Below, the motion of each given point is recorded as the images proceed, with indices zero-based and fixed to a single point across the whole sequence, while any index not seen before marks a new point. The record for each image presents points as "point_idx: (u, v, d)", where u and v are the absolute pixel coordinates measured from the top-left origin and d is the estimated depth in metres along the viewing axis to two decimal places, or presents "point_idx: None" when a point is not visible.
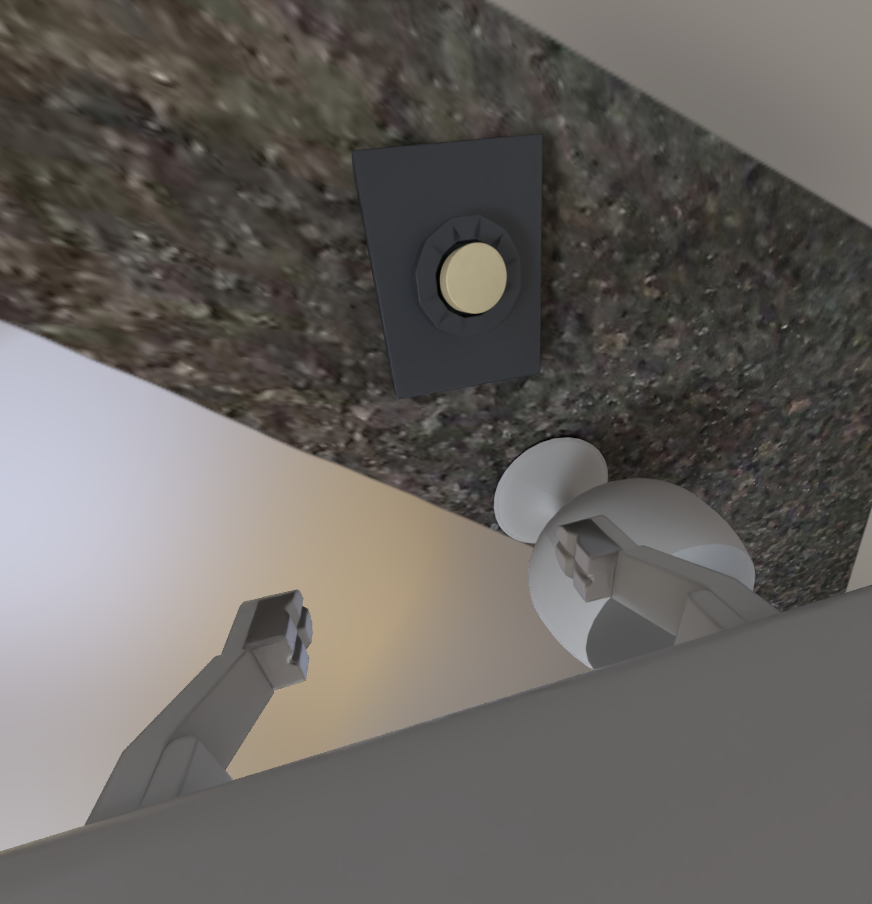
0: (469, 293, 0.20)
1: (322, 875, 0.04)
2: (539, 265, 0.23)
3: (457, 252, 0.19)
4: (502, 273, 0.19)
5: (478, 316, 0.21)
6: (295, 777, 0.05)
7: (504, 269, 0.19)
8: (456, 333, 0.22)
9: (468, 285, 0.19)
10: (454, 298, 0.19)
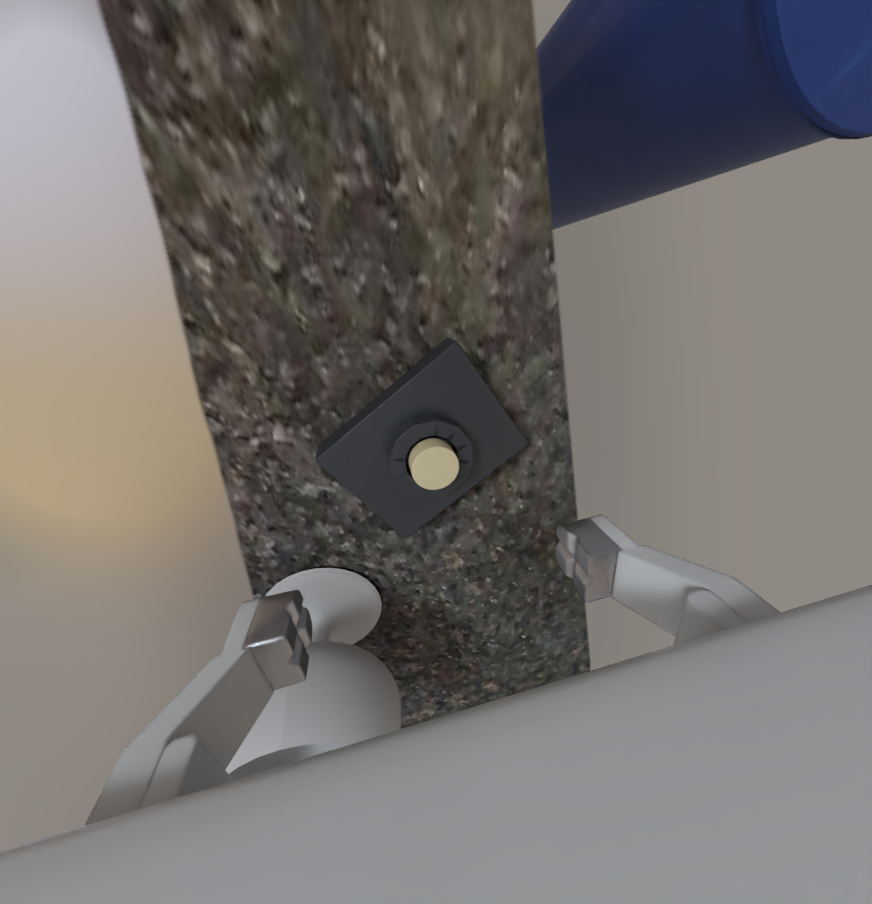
0: (424, 470, 0.25)
1: (322, 875, 0.04)
2: (467, 490, 0.30)
3: (442, 447, 0.25)
4: (449, 481, 0.26)
5: None
6: (295, 777, 0.05)
7: (451, 480, 0.26)
8: (393, 474, 0.26)
9: (428, 466, 0.25)
10: (415, 463, 0.25)
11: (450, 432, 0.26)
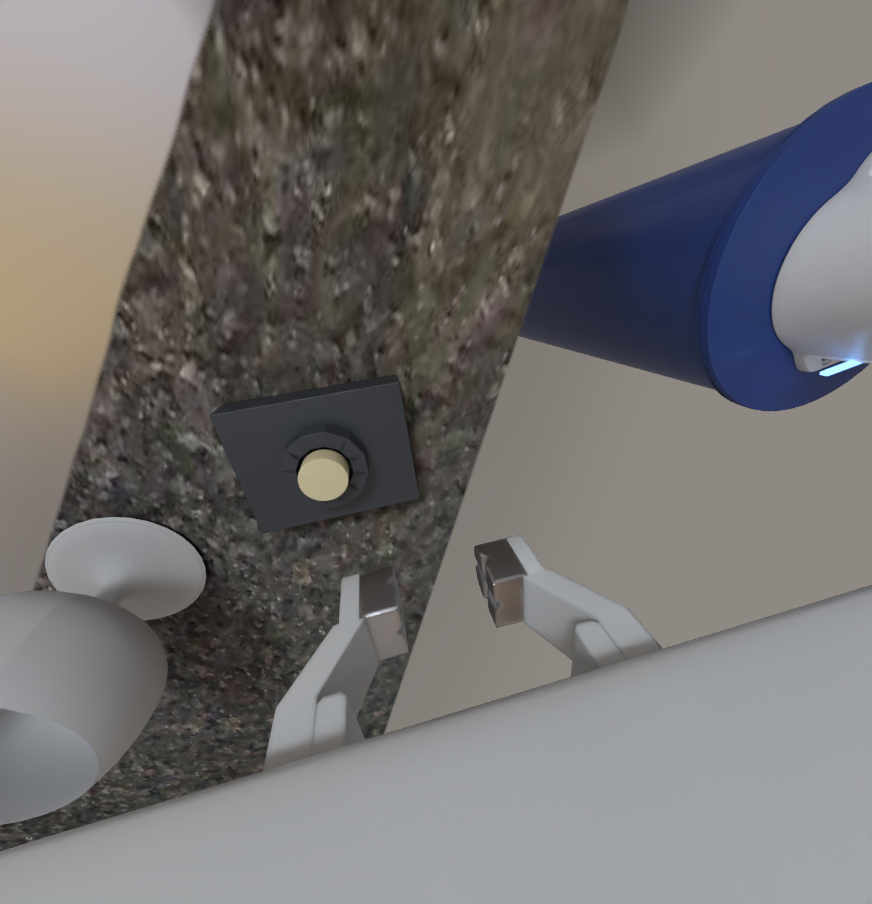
0: (312, 476, 0.25)
1: (322, 875, 0.04)
2: (346, 513, 0.30)
3: (339, 464, 0.25)
4: (330, 497, 0.26)
5: None
6: (295, 777, 0.05)
7: (333, 498, 0.26)
8: (281, 467, 0.26)
9: (317, 475, 0.25)
10: (306, 466, 0.25)
11: (354, 455, 0.26)
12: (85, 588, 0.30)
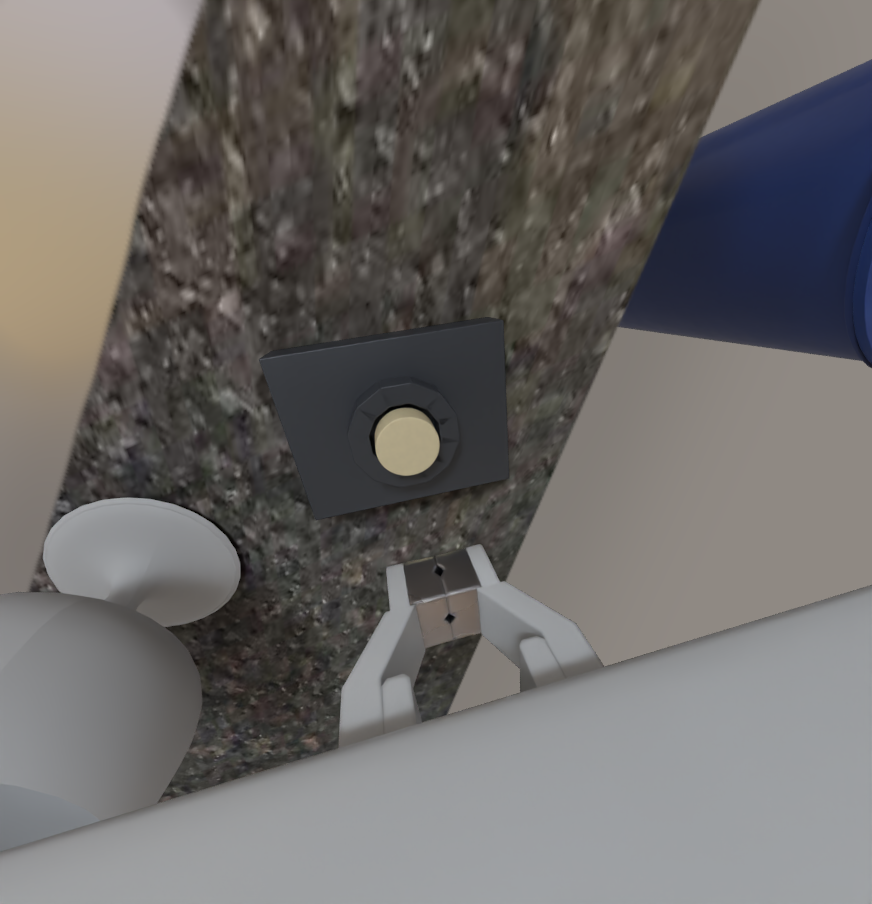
0: (394, 441, 0.19)
1: (322, 875, 0.04)
2: (419, 496, 0.24)
3: (431, 426, 0.19)
4: (414, 470, 0.20)
5: (371, 450, 0.20)
6: (295, 777, 0.05)
7: (418, 472, 0.20)
8: (351, 429, 0.19)
9: (402, 439, 0.19)
10: (389, 427, 0.18)
11: (445, 415, 0.20)
12: (93, 587, 0.24)
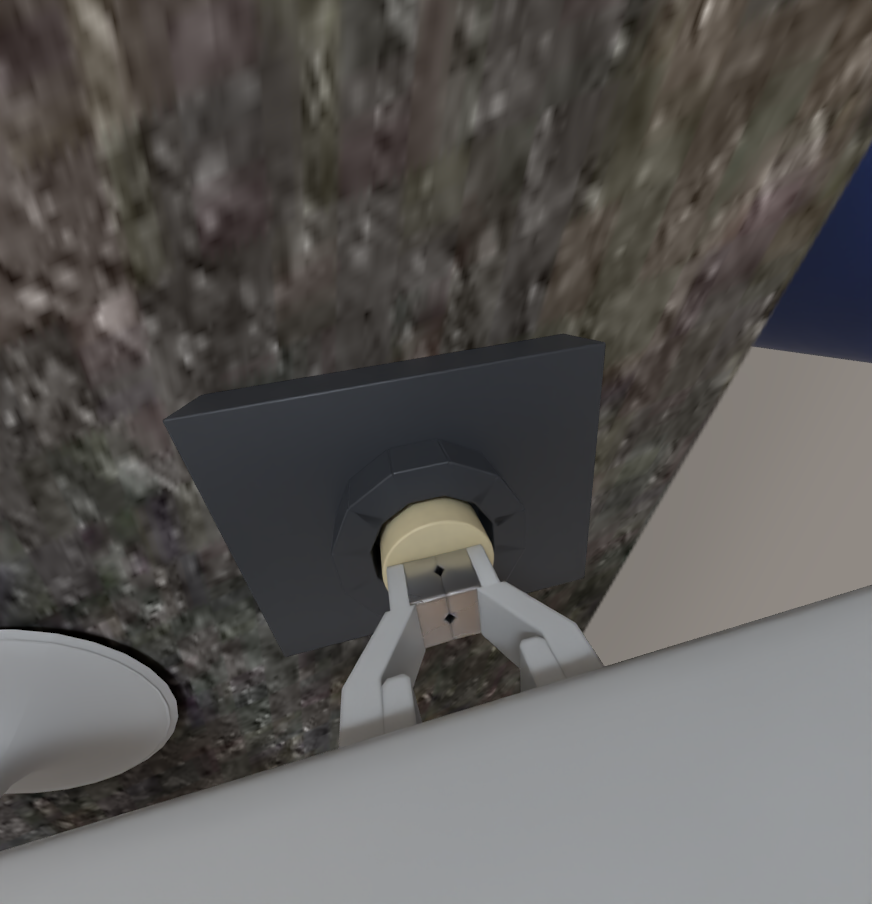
0: None
1: (322, 875, 0.04)
2: None
3: (481, 533, 0.10)
4: None
5: (375, 573, 0.11)
6: (295, 777, 0.05)
7: None
8: (339, 544, 0.11)
9: None
10: (407, 540, 0.10)
11: (504, 511, 0.11)
12: None
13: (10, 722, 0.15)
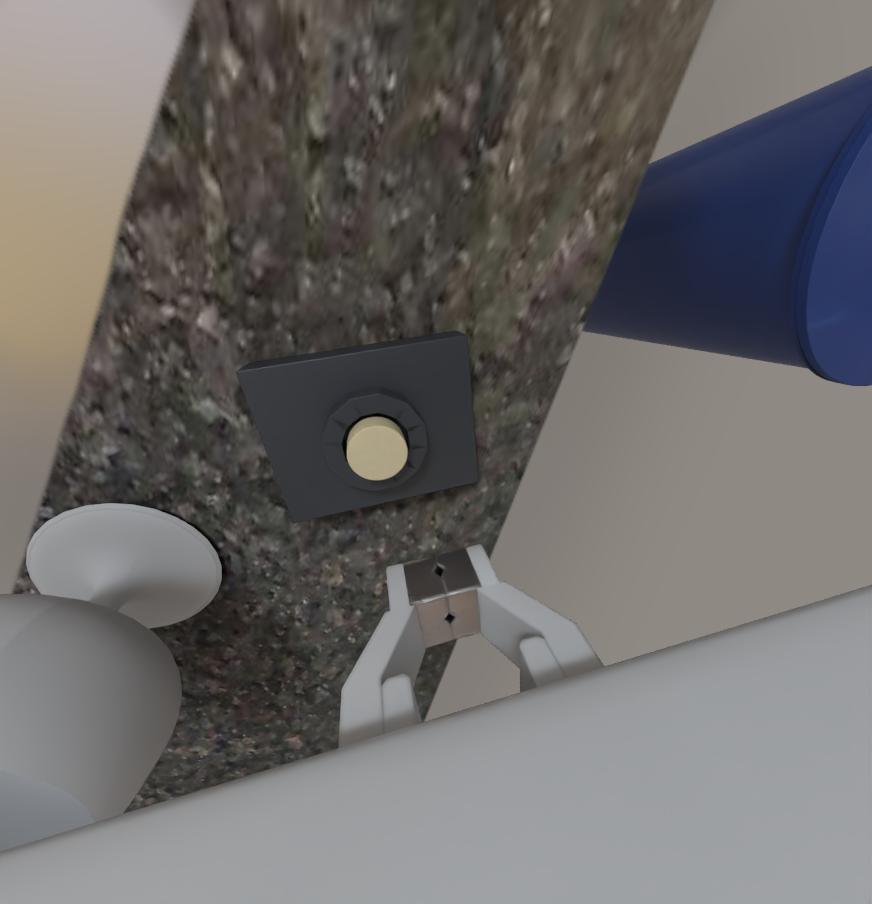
0: (364, 449, 0.20)
1: (322, 875, 0.04)
2: (392, 499, 0.25)
3: (398, 434, 0.20)
4: (384, 475, 0.21)
5: (344, 457, 0.21)
6: (295, 777, 0.05)
7: (387, 477, 0.21)
8: (324, 437, 0.21)
9: (371, 447, 0.20)
10: (359, 435, 0.20)
11: (413, 424, 0.21)
12: (76, 591, 0.25)
13: (127, 562, 0.24)
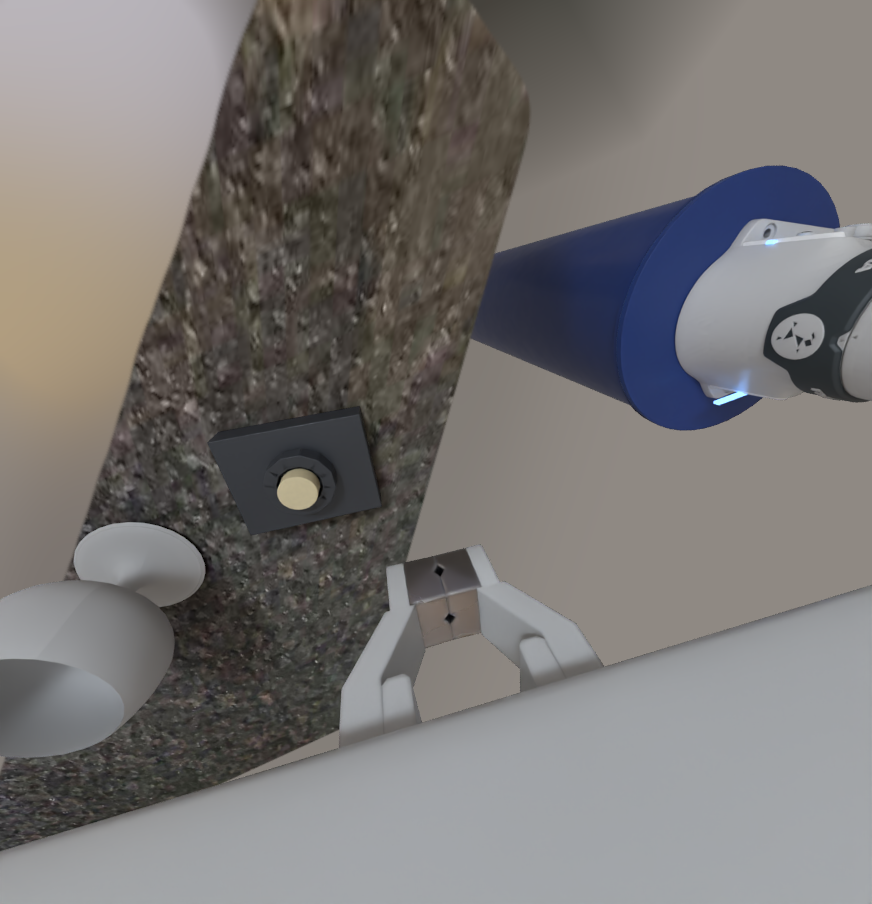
0: (288, 490, 0.32)
1: (322, 875, 0.04)
2: (320, 519, 0.37)
3: (310, 481, 0.32)
4: (303, 506, 0.33)
5: None
6: (295, 777, 0.05)
7: (306, 507, 0.33)
8: (264, 482, 0.32)
9: (293, 489, 0.32)
10: (283, 483, 0.31)
11: (323, 472, 0.33)
12: (106, 580, 0.37)
13: (140, 561, 0.36)
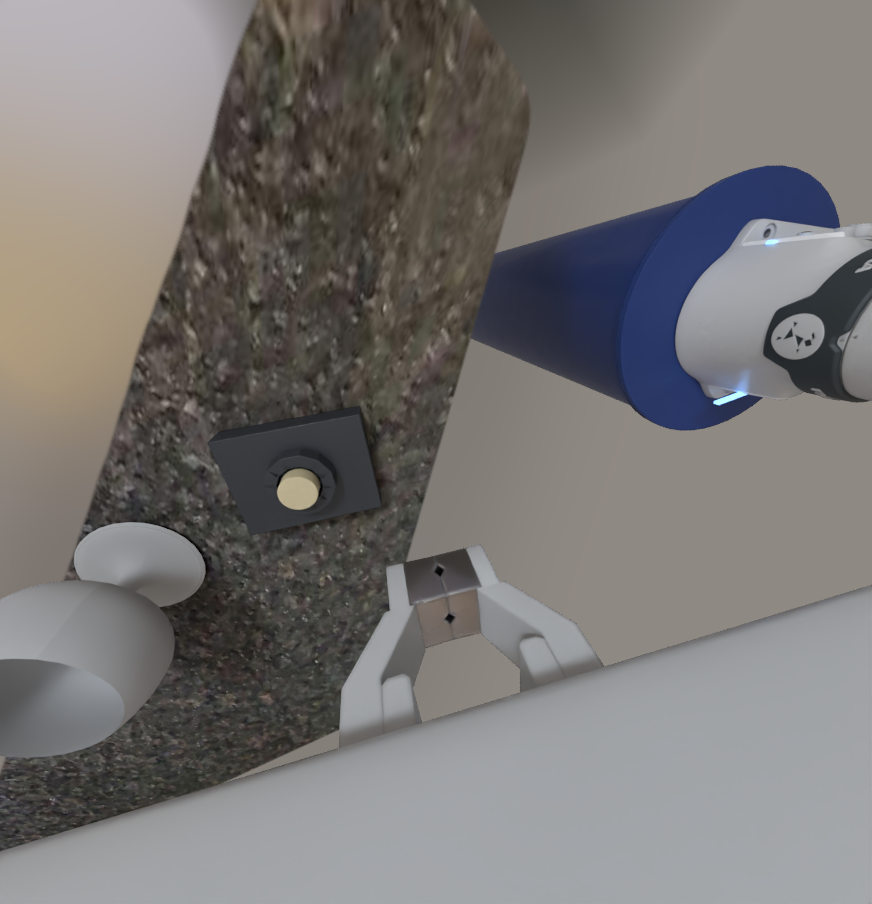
0: (288, 490, 0.32)
1: (322, 875, 0.04)
2: (320, 519, 0.37)
3: (310, 481, 0.32)
4: (303, 507, 0.33)
5: None
6: (295, 777, 0.05)
7: (306, 507, 0.33)
8: (264, 482, 0.32)
9: (293, 489, 0.32)
10: (284, 483, 0.31)
11: (323, 472, 0.33)
12: (106, 580, 0.37)
13: (140, 561, 0.36)
